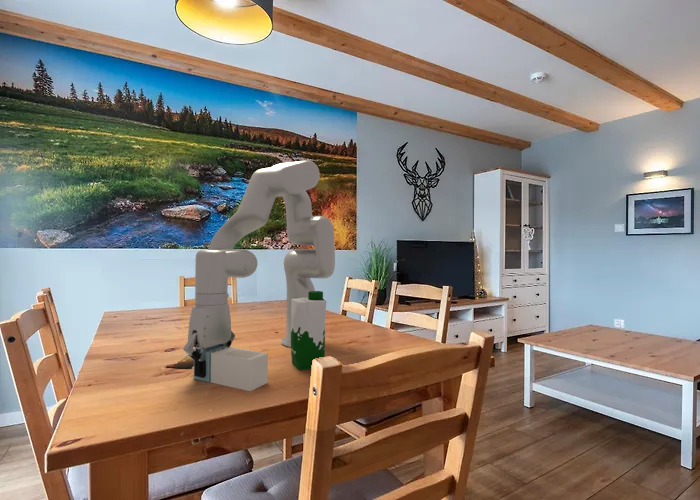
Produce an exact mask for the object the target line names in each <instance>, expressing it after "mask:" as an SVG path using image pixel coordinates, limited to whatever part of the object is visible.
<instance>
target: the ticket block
mask: <svg viewBox="0 0 700 500" xmlns="http://www.w3.org/2000/svg"><path fill="white" fill-rule="evenodd" d="M268 355H269V353H268V352H262V351H261V352H260V351H255V350H250V349H249V350H248V349H243V348H239V347H238V348H237V347H231V346H230V347H227V348H224V349H222V350H218V351H214V352H212V353H211V381H210V383H212V384H216V385H220V386H224V387H230V388H234V389H238V390H243V391H247V392H252V391H254V390H256V389H258V388H261V387H263V386H264V385H266V384H268V377H269V375H268V369H269V367H268V362H269V357H268Z"/></svg>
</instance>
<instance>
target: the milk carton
mask: <svg viewBox="0 0 700 500" xmlns="http://www.w3.org/2000/svg"><path fill="white" fill-rule="evenodd" d="M326 311H327V300H325V299H324V292H323V291H321V290H315V291H310V292H308V298H300V299H291V347H290V351H291V352H290V353H291V363H292V364H293V365H294V366H295V368H296V369H297V370H298V371H304V370H312V369H311V365H312V360H313V359H315V358H319V357H324V356H325V354H326V352H325V351H326Z"/></svg>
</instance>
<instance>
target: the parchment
mask: <svg viewBox="0 0 700 500" xmlns="http://www.w3.org/2000/svg"><path fill="white" fill-rule="evenodd" d="M193 349H195V347H193ZM181 358H182V359H180V361H178V362H177V363H175V364H174V365H173V366H172V368H174V369H177V370H178V369H191V370H192V369H193V368H194V360H192V358H191V357H190V356H189V355H188V354H187V353H186V352H185V354H184V355H182V356H181ZM166 368H169V366H168V365H167V366H166Z"/></svg>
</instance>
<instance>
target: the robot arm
mask: <svg viewBox="0 0 700 500" xmlns="http://www.w3.org/2000/svg"><path fill="white" fill-rule="evenodd" d="M319 181H320V169H319V167H318V165H317V164H316V163H315V162H314V161H312V160H309V159H307V160H298V161H289V162H281V163H277V164H275V165H272V166H271V167H265V168H263V167H262V168H260V169H257V170H256V171H254V172H253V174H252V175H251V177H250V179H249V181H248V183H247V187H246V189H245V192H244V195H243V197H242V200H241V202H240V205H239V206H238V209H237V210H236V212H235V213H234V214H233V215H232V216H231V217H229V218H228V219H227V220H226V221H225V223H223V224H222V226H220V227H219V229H218V230H217V231H216V232H215V233H214V235H213V238H212V239H211V241H210V243H209V244H210V245H209V246H208V248H207V249H202V250H198V251H197V252H196V254H195V265H194V266H195V274H194V275H195V277H194V279H195V281H194V282H195V285H194V287H195V288H194V289H195V291H194V292H195V293H194V299H195V300H194V303H195V304H194V306H192V307H191V312H190V316H189V321H188V322H189V323H188V331H187V334H188V335H187V342H186V343H185V345H184V347H183V351H184V352H185V354H186V353H187V354H188V355H189V356H190V357H191V358H192V360H194V367H193V376H194V375H195V376H197V377H201V378H204V377H206V361H205V360H204V357H205V354H206V351H207V348H210V347H214V346H217V345H220V346H226V347H231V345H232V343H233V341H234V340H235V338H236V334H235V333H234V332H233V331H232V320H231V317H232V316H231V310H230V305H229V303H228V301H229V300H228V298H229V297H230V294H229V292H228V279H229V278H237V279H238V278H239V279H244V278H248V277H250V276H252V275H253V274H254V273H255V272H256V270H257V267H258V258H257V257H256V255H255V254H254V253H253V252H251V251H250V250H247V249H243V248H234V247H235V246H236V245H237V243H238V242H239V241H240V240H241V239H242V238H244V237H245V236H247V235H249V234H251V233H252V232H255V231H257V230H258V229H259V230H260V228H262V227H264V226H265V225H266V224H267V222H268V220H269V217H270V214H271V212H272V209H273V206H274V203H275V200H276V199H277V198H278V197H280V198H281V197H282V198H283V201H284V204H285V212H286V216H285V218H286V233H287V239H288V241H289V243H291V244H292V245H296V246H314V248H312V249H310V248H295V249H292V250H289V251H288V252H287V253H286V254H285V255H284V259H283V269H284V274H285V280H286V313H285V314H286V316H285V317H286V331H285V332H286V334H285V335H286V337H283V338H282V339H281V345H283V346H285V347H287V348H288V347H289V348H291V299H300V298H308V292H310V291H316V289H315V286H314V284H313V282H312V280H311V279H328V278H330V277H331V276H332V275H333V274H334V272H335V267H336V250H335V245H336V244H335V230H334V226H333V222H332V221H331V220H330V219H329V218H328V217H326V216H323V215H313V211H312V210H313V208H312V201H311V197H310V195H309V194H308V193H307V191H308V190H311V189H313V188H315V187H316V186H317V185H318V184H319ZM194 348H195V349H194ZM200 350H201V352H200V354H199V351H200Z"/></svg>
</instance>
